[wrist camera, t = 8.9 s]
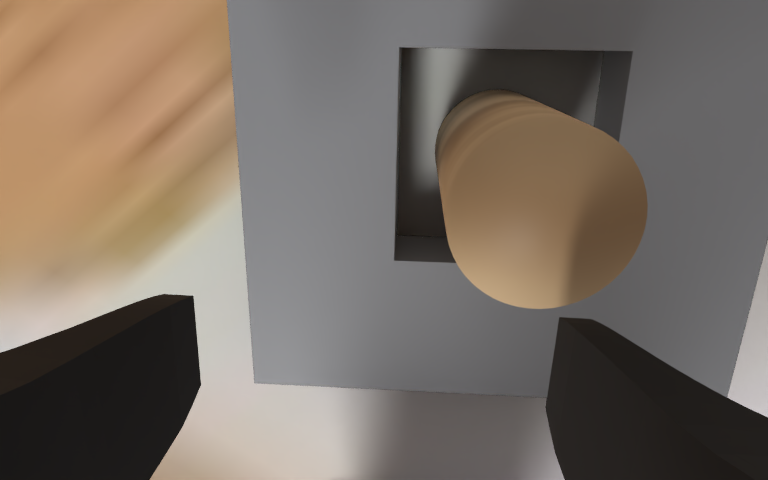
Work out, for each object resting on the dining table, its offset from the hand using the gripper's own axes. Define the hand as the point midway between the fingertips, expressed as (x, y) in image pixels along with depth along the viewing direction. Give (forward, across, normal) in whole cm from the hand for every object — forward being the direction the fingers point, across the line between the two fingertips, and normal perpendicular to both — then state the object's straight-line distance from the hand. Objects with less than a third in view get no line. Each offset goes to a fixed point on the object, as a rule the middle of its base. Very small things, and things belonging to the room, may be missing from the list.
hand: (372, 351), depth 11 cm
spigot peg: (+9, -3, -3) cm, 10 cm away
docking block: (+9, -3, -3) cm, 10 cm away
